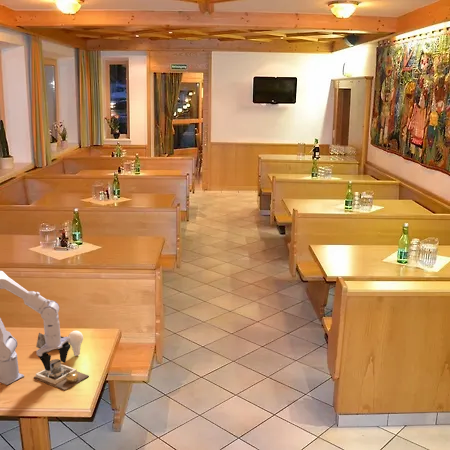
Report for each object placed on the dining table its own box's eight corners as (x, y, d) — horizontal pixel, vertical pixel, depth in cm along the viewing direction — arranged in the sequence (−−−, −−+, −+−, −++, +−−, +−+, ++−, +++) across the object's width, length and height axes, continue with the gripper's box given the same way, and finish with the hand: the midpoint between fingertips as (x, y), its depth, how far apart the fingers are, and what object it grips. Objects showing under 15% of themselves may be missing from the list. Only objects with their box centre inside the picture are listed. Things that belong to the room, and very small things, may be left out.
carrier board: (33, 378, 220) (33, 377, 220) (58, 365, 230) (58, 364, 230) (64, 390, 211) (64, 389, 211) (89, 376, 221) (88, 375, 221)
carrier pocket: (35, 376, 220) (35, 374, 220) (57, 365, 229) (57, 362, 229) (54, 384, 215) (54, 381, 214) (76, 372, 223) (76, 369, 223)
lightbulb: (69, 360, 235) (67, 335, 232) (69, 353, 240) (67, 329, 238) (84, 357, 236) (82, 333, 233) (84, 351, 242) (82, 327, 239)
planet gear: (42, 376, 221) (40, 363, 220) (57, 368, 227) (56, 355, 226) (55, 381, 217) (54, 368, 215) (70, 373, 223) (69, 360, 222)
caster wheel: (71, 350, 249) (55, 357, 239) (51, 341, 253) (35, 347, 244) (74, 336, 247) (58, 342, 238) (53, 327, 251) (37, 332, 242)
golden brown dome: (64, 381, 216) (63, 375, 216) (72, 376, 220) (72, 370, 219) (72, 384, 214) (71, 378, 214) (80, 379, 218) (80, 373, 217)
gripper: (44, 342, 210) (47, 376, 213) (74, 328, 221) (77, 360, 225) (31, 338, 213) (35, 371, 217) (61, 324, 225) (64, 356, 229)
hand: (55, 365), depth 221 cm, fingers open, 7 cm apart
